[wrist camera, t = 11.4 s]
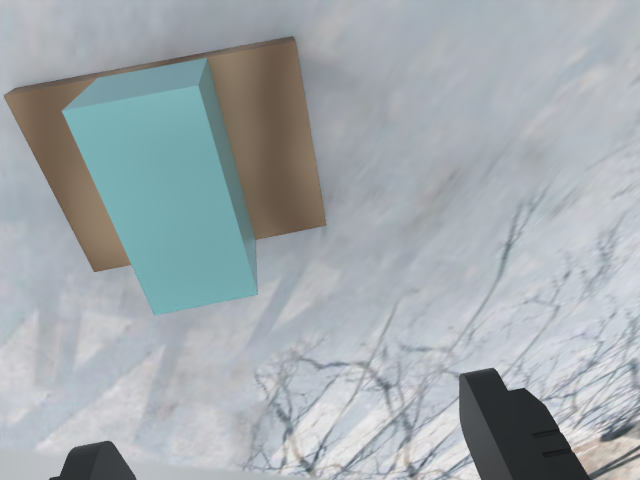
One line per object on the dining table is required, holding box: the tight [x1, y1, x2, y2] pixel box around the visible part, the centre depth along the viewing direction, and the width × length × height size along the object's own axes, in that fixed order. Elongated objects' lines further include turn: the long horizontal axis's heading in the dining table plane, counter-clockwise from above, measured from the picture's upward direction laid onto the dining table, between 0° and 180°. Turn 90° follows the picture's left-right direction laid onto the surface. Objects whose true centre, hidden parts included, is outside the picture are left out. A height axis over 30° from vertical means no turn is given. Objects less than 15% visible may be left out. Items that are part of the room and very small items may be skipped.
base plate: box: [4, 36, 326, 272], centre depth 28 cm, size 16×12×4 cm
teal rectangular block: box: [62, 58, 258, 315], centre depth 26 cm, size 6×12×6 cm, turn 9°
